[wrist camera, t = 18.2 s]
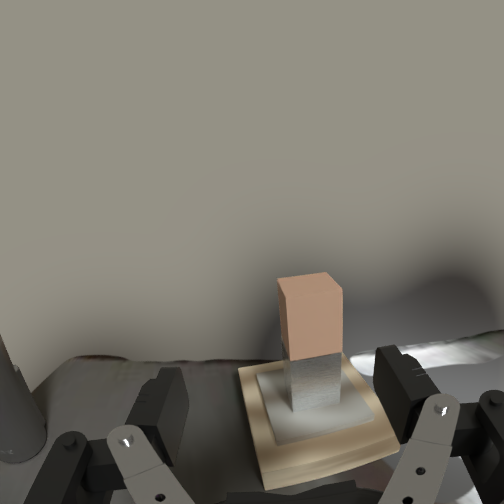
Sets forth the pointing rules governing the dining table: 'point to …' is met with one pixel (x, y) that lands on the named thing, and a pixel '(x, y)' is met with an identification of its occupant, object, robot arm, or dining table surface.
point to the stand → (313, 427)
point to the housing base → (312, 380)
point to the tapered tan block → (310, 315)
